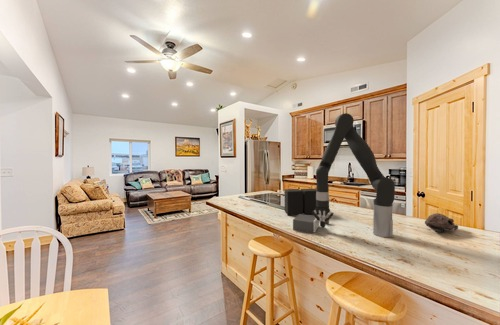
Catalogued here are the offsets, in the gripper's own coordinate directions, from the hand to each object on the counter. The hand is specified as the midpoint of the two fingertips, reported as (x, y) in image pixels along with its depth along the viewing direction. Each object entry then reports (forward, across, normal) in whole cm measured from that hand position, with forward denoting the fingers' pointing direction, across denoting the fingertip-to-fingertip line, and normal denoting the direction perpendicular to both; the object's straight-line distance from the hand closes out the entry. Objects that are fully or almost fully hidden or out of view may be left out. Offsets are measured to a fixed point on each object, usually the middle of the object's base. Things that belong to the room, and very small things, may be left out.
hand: (322, 227), depth 131 cm
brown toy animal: (+3, +62, +28) cm, 68 cm away
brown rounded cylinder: (+2, 0, +15) cm, 15 cm away
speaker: (+2, -21, +32) cm, 39 cm away
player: (+2, -10, 0) cm, 11 cm away
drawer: (+1, -8, 0) cm, 8 cm away
